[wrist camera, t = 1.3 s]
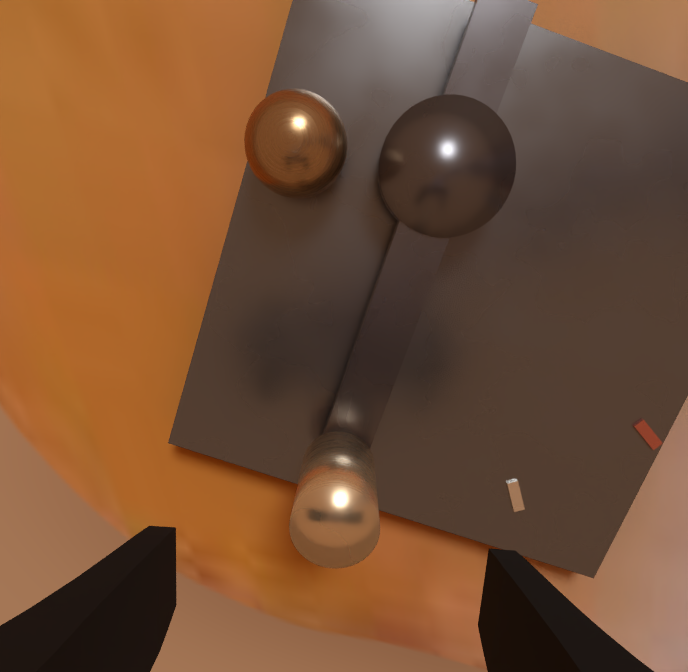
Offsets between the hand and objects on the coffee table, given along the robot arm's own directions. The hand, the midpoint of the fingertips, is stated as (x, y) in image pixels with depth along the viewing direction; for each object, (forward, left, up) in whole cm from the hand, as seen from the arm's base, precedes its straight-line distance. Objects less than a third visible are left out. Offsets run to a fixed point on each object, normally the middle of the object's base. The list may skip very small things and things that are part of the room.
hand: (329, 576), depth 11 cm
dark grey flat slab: (-3, -7, -8) cm, 11 cm away
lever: (0, -7, -6) cm, 9 cm away
